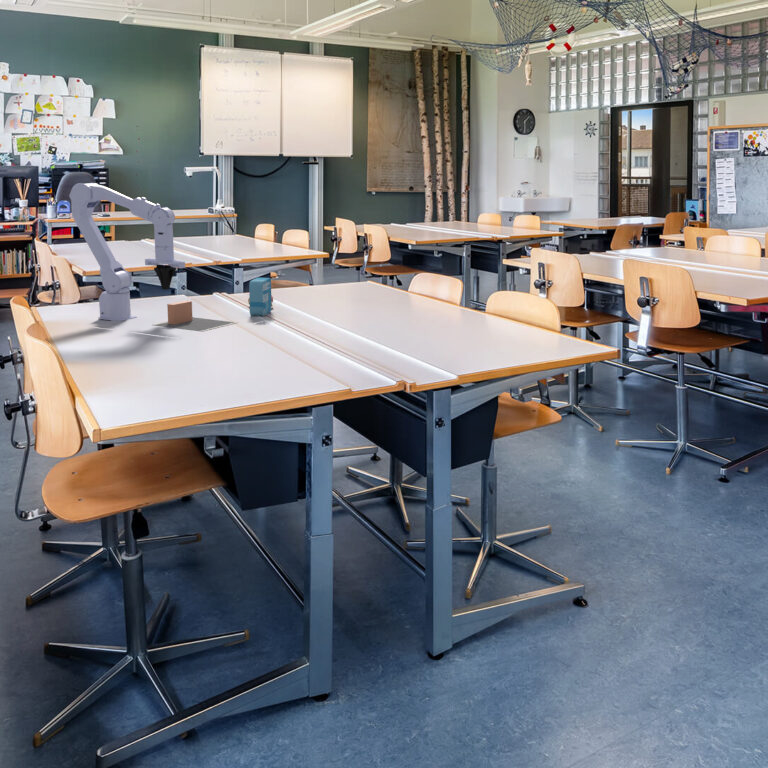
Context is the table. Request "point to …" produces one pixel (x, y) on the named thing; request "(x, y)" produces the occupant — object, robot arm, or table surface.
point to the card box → (179, 312)
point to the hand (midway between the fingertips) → (165, 289)
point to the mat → (197, 324)
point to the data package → (260, 296)
